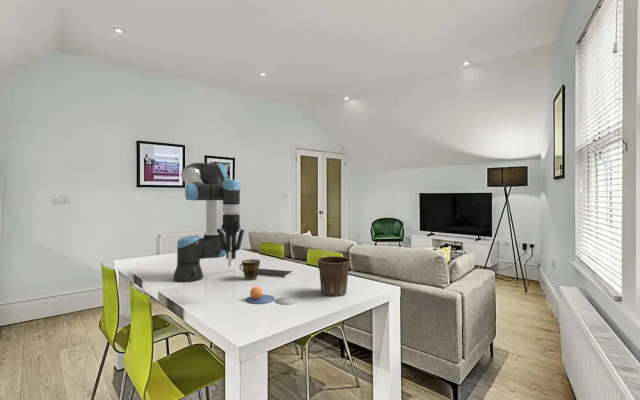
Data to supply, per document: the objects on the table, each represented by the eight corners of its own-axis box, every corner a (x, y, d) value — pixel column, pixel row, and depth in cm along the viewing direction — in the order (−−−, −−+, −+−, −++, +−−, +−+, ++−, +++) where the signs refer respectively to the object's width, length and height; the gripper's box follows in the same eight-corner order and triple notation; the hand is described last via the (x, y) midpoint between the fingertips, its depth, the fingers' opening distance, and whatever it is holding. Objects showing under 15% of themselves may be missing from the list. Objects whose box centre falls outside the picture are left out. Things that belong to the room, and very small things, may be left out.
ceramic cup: (251, 275, 191) (251, 258, 191) (263, 278, 186) (263, 260, 185) (233, 280, 181) (233, 262, 181) (245, 283, 175) (246, 264, 175)
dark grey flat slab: (285, 279, 187) (285, 276, 187) (243, 275, 195) (243, 272, 195) (294, 274, 199) (294, 271, 199) (254, 270, 207) (254, 267, 207)
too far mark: (272, 303, 142) (272, 303, 142) (278, 296, 152) (278, 296, 152) (295, 305, 140) (295, 304, 140) (300, 298, 150) (300, 297, 150)
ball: (256, 303, 145) (246, 296, 146) (260, 299, 151) (250, 293, 151) (262, 293, 145) (252, 286, 145) (266, 289, 150) (255, 282, 151)
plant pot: (335, 300, 148) (335, 264, 147) (309, 293, 158) (309, 259, 158) (357, 292, 160) (357, 259, 159) (331, 286, 170) (332, 255, 170)
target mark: (240, 303, 142) (240, 302, 142) (251, 294, 155) (251, 293, 155) (270, 304, 140) (270, 304, 140) (278, 295, 153) (278, 295, 153)
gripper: (213, 214, 147) (213, 267, 147) (241, 214, 145) (241, 268, 145) (221, 213, 154) (221, 263, 155) (248, 213, 152) (247, 264, 153)
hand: (230, 265), depth 150 cm, fingers closed
